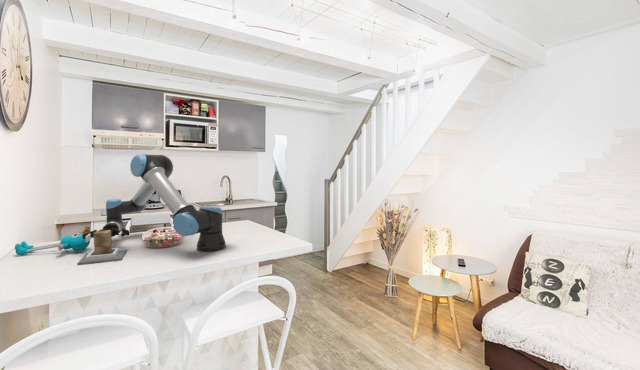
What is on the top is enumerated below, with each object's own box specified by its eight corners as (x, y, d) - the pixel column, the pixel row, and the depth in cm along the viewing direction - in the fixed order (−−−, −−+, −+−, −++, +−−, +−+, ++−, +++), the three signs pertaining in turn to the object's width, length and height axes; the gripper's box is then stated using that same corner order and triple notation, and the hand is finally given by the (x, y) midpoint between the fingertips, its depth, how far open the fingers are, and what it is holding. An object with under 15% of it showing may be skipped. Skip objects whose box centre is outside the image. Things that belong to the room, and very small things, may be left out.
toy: (32, 237, 163) (95, 226, 171) (36, 255, 164) (99, 243, 172) (1, 249, 142) (76, 236, 150) (6, 269, 143) (80, 255, 151)
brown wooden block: (112, 253, 153) (111, 230, 152) (109, 256, 148) (108, 232, 147) (97, 254, 151) (96, 231, 150) (94, 258, 145) (93, 233, 144)
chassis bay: (126, 251, 160) (126, 246, 159) (121, 260, 146) (121, 254, 146) (86, 255, 152) (86, 249, 152) (77, 265, 139) (77, 258, 139)
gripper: (137, 233, 176) (132, 242, 157) (84, 237, 165) (72, 248, 146) (137, 221, 175) (132, 228, 156) (83, 224, 165) (71, 232, 146)
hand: (103, 238), depth 151 cm, fingers open, 13 cm apart
